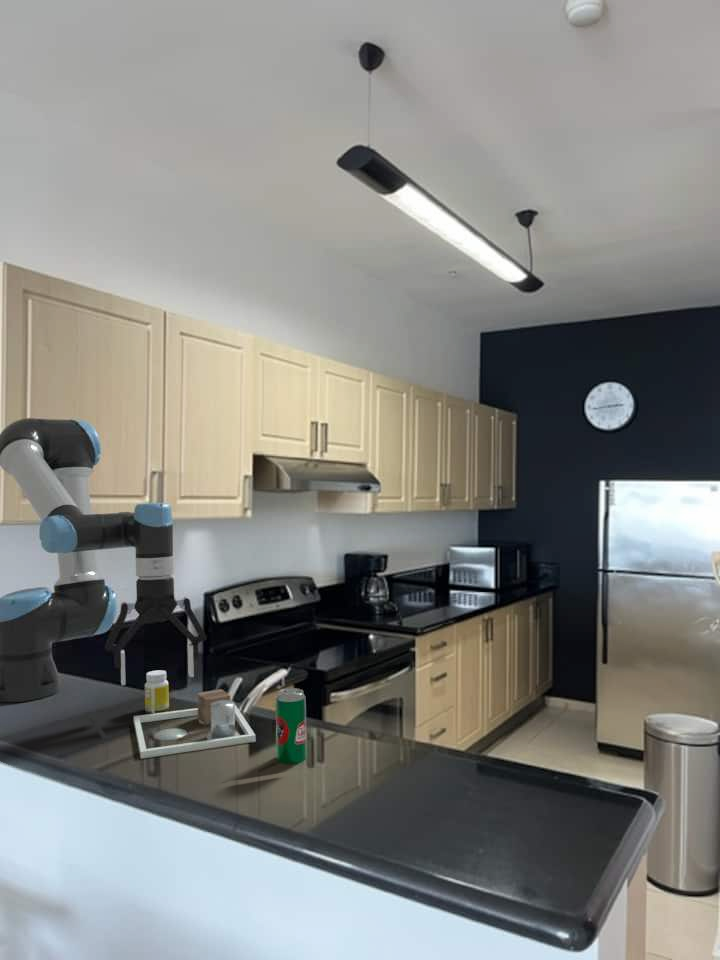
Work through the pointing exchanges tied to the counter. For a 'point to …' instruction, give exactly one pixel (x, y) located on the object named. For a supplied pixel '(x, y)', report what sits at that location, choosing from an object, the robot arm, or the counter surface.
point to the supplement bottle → (156, 692)
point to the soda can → (291, 726)
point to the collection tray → (178, 733)
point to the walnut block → (209, 703)
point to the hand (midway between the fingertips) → (157, 679)
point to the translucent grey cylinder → (222, 719)
